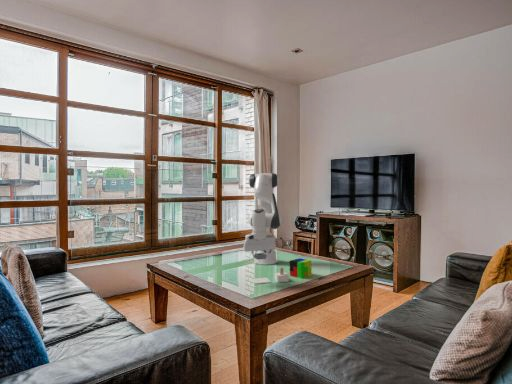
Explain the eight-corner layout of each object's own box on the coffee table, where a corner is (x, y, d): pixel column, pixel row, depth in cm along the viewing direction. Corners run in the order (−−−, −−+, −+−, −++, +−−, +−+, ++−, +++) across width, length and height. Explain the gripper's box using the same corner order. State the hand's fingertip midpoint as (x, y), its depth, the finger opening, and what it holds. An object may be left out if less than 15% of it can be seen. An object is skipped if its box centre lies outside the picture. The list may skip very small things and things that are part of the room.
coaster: (251, 279, 212) (251, 278, 212) (266, 278, 214) (266, 277, 214) (254, 284, 203) (254, 283, 203) (270, 282, 205) (270, 281, 204)
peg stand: (274, 279, 212) (274, 266, 212) (285, 278, 213) (285, 266, 213) (277, 282, 205) (277, 269, 205) (288, 281, 206) (288, 268, 206)
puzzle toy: (300, 272, 226) (299, 258, 226) (311, 275, 218) (311, 260, 218) (290, 275, 219) (289, 260, 219) (301, 278, 212) (301, 263, 212)
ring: (254, 257, 210) (254, 253, 210) (263, 256, 212) (263, 253, 212) (256, 259, 205) (256, 255, 205) (266, 258, 206) (265, 254, 206)
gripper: (274, 233, 213) (274, 255, 213) (242, 235, 209) (243, 257, 209) (276, 235, 207) (277, 257, 207) (244, 237, 203) (245, 259, 203)
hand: (260, 257), depth 208 cm, fingers closed on ring, 6 cm apart
